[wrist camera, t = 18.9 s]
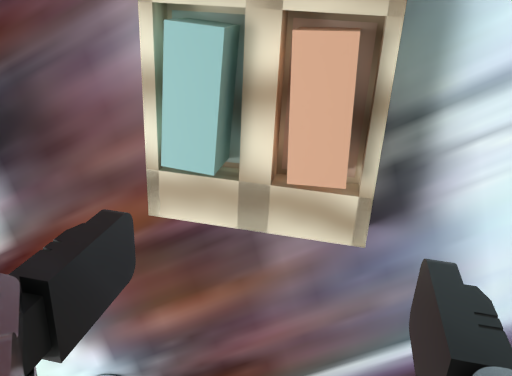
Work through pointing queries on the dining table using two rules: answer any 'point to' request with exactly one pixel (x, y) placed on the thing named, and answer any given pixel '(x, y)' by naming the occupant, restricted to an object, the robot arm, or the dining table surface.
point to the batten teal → (198, 93)
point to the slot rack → (273, 119)
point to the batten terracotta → (321, 105)
